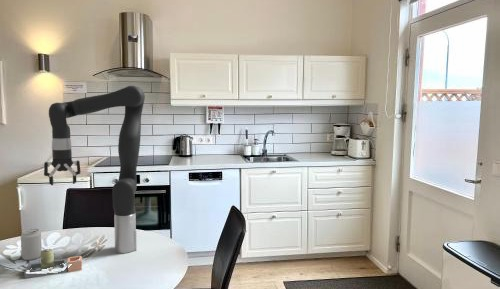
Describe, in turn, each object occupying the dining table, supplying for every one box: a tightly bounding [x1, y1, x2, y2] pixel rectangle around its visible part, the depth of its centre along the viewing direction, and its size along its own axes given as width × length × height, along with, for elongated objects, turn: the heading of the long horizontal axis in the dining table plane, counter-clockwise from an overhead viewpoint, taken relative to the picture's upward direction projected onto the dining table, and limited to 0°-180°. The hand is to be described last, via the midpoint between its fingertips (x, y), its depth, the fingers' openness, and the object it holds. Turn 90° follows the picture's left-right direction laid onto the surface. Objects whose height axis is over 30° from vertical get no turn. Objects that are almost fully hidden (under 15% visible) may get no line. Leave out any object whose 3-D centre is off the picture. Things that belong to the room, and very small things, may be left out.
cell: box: [40, 248, 55, 270], centre depth 141 cm, size 4×4×9 cm
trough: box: [24, 258, 68, 279], centre depth 142 cm, size 14×9×2 cm, turn 114°
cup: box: [67, 255, 83, 273], centre depth 144 cm, size 5×5×4 cm
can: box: [20, 228, 43, 261], centre depth 153 cm, size 8×8×12 cm
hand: (63, 184), depth 158 cm, fingers open, 8 cm apart
